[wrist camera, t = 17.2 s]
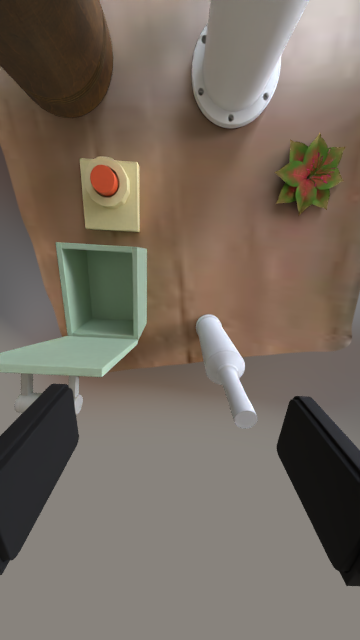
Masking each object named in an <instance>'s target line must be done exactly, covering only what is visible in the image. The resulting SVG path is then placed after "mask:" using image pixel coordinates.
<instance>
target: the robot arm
mask: <svg viewBox="0 0 360 640" xmlns="http://www.w3.org/2000/svg"><path fill="white" fill-rule="evenodd" d="M308 2H309V0H211V3H210V12H209V20H208V23H207V24H206V26H205V28H204V29H203V31H202V32H201V34H200V36H199V38H198V41H197V43H196V46H195V50H194V54H193V60H192V72H191V79H192V88H193V92H194V97H195V99H196V102H197V104H198V106H199V108H200V110H201V111H202V113H203V114H204V115H205V116H206V117H207V118H208V119H209V120H210V121H211V122H213V123H214V124H216V125H218V126H221V127H223V128H239V127H242V126H245V125H247V124H248V123H250V122H252V121H253V120H255V119H256V118H257V117H258V116H259V115H260V114H261V113H262V111H263V110H264V109H265V108H266V106H267V105H268V103H269V101H270V100H271V98H272V95H273V93H274V91H275V89H276V86H277V83H278V79H279V74H280V67H281V55H282V53H283V51H284V49H285V47H286V45H287V43H288V41H289V39H290V37H291V35H292V33H293V31H294V29H295V27H296V25H297V23H298V21H299V19H300V17H301V15H302V13H303V12H304V10H305V8H306V6H307V4H308ZM200 95H202V96H200ZM263 99H264V100H263ZM229 120H230V121H231V122H230V121H229ZM78 438H79V435H78V427H77V420H76V412H75V404H74V397H73V390H72V389H71V388H69V386H68V385H67V384H51V385H50V386H49V387H48V388H47V389H46V390H45V391H44V392H43V393H42V394H41V395H40V396H39V397H38V398H37V399H36V400H35V401H34V402H33V403H32V404H31V405H30V406H29V407H28V408H27V409H26V410H25V411H24V412H23V413H22V414H21V415H20V416H19V417H18V419H17V420H16V421H15V422H14V423H13V424H12V425H11V426H10V427H9V428H8V429H7V430H6V431H5V432H4V433H3V434H2V435H1V436H0V575H2V573H3V571H4V570H5V568H6V566H7V564H8V563H9V561H10V560H13V559H14V558H15V557H16V556H17V555H18V553H19V552H20V550H21V548H22V546H23V544H24V542H25V541H26V539H27V537H28V535H29V533H30V531H31V529H32V528H33V526H34V524H35V522H36V520H37V518H38V516H39V515H40V513H41V511H42V509H43V507H44V505H45V503H46V501H47V500H48V498H49V496H50V494H51V492H52V490H53V489H54V487H55V485H56V483H57V481H58V479H59V477H60V476H61V474H62V472H63V470H64V468H65V466H66V464H67V462H68V460H69V459H70V457H71V455H72V453H73V451H74V449H75V447H76V446H77V443H78ZM277 452H278V455H279V457H280V459H281V461H282V463H283V466H284V468H285V470H286V472H287V474H288V476H289V478H290V480H291V482H292V484H293V486H294V488H295V490H296V492H297V494H298V496H299V498H300V500H301V502H302V504H303V507H304V509H305V511H306V512H307V515H308V517H309V518H310V520H311V523H312V525H313V527H314V529H315V531H316V533H317V535H318V537H319V539H320V541H321V543H322V545H323V547H324V549H325V552H326V553H327V556H328V558H329V560H330V561H331V563H332V565H333V566H334V568H335V569H336V570H338V571H339V572H340V574H341V575H342V578H343V579H344V581H345V583H346V585H347V586H360V450H359V449H358V448H357V447H356V446H355V445H354V444H353V443H352V441H351V440H350V439H349V438H348V437H347V436H346V435H345V434H344V433H343V432H342V430H340V428H339V427H338V426H337V425H336V424H335V423H334V422H333V421H332V420H331V419H330V417H329V416H328V415H327V414H326V413H325V412H324V411H323V410H322V409H321V407H320V406H318V404H317V403H316V402H315V401H314V400H313V399H312V398H311V397H303V396H295V397H294V398H293V399H292V400H291V401H290V402H289V405H288V409H287V412H286V416H285V419H284V422H283V426H282V430H281V433H280V436H279V440H278V443H277Z"/></svg>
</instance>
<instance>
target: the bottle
mask: <svg viewBox="0 0 360 640" xmlns="http://www.w3.org/2000/svg"><path fill="white" fill-rule="evenodd" d="M196 331H197V334H198V335H199V339H200V344H201V350H202V355H203V360H204V365H205V371H206V375H207V376H208V378H209V379H210V380H211V381H213V382H214V383H216V384H221V385H223V387H224V390H225V393H226V396H227V399H228V402H229V405H230V410H231V413H232V416H233V419H234V422H235V424H236V425H237V426H238V427H240V428H243V429H246V428H250V427H252V426H254V425H255V424H256V422H257V415H256V413H255V411H254V409H253V407H252V405H251V402H250V401H249V399H248V397H247V395H246V393H245V391H244V389H243V387H242V385H241V383H240V381H239V378H240V377H241V376H242V375H243V372H244V369H245V364H244V360H243V358H242V357H241V355H240V354H239V352H238V351H237V349H236V348H235V346H234V345H233V343H232V342H231V340H230V339H229V337H228V336H227V334H226V333H225V331H224V330H223V328H222V326H221V322H220V321H219V319H218V318H217V317H215V316H214V315H210V314H207V315H203V316H202V317H200V318H199V319H198V321H197V323H196Z"/></svg>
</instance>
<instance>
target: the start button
mask: <svg viewBox="0 0 360 640" xmlns="http://www.w3.org/2000/svg"><path fill="white" fill-rule="evenodd" d="M90 180H91V184H92V186H93V187H94V189H95V190H97V191H98V192H99V193H100V194H102V195H104V196H111V195H113V194H114V193H115V192H116V191H117V188H118V180H117V177H116V175H115V174H114V173H113V172H112V170H111V169H110V168H109V167H107V166H105V165H97V166H95V167H94V168H93V169H92V171H91V174H90Z"/></svg>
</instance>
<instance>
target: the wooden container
mask: <svg viewBox="0 0 360 640" xmlns="http://www.w3.org/2000/svg"><path fill="white" fill-rule="evenodd" d="M0 66H1V67H2V68H3V69H4V70H5V71H6V72H7V73H8V74H9V75H10V76H11V77H12V78H13V79H14V80H15V81H16V83H17V84H18V85H19V86H20V87H21V88H22V89H23V90H24V91H25V92H26V93H27V94H28V95H29V96H30V97H31V98H32V99H33V100H34V101H35V102H36V103H37V104H38V105H39V106H40V107H42V108H43V109H45V110H46V111H48V112H50V113H52V114H54V115H57V116H62V117H68V118H71V117H79V116H82V115H85V114H87V113H88V112H90V111H92V110H93V109H94V108H95V107H96V106H97V105H98V104H99V103H100V102H101V101H102V99H103V98H104V96H105V94H106V92H107V90H108V87H109V84H110V80H111V75H112V68H113V52H112V44H111V38H110V34H109V30H108V27H107V24H106V20H105V17H104V14H103V10H102V7H101V4H100V1H99V0H0Z"/></svg>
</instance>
